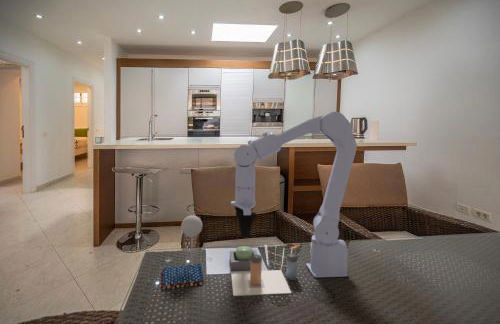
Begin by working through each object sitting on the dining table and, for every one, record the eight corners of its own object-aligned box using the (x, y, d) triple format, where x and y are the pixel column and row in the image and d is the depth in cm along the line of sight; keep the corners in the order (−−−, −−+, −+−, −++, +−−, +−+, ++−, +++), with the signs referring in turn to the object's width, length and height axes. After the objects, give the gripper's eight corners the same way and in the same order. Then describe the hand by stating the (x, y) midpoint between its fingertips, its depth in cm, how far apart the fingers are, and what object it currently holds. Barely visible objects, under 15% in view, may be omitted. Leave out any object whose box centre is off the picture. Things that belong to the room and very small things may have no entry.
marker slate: (295, 274, 81) (296, 253, 80) (298, 279, 78) (298, 257, 77) (284, 275, 81) (285, 253, 80) (287, 280, 78) (288, 258, 77)
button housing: (255, 258, 91) (255, 250, 91) (259, 269, 83) (259, 261, 83) (229, 258, 90) (229, 250, 90) (230, 270, 83) (231, 262, 82)
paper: (280, 270, 83) (280, 270, 83) (291, 293, 71) (291, 292, 71) (231, 272, 82) (231, 271, 82) (233, 296, 70) (233, 295, 70)
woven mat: (162, 272, 82) (161, 265, 82) (200, 268, 85) (200, 262, 84) (160, 292, 72) (160, 284, 72) (204, 287, 75) (204, 279, 74)
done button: (251, 255, 89) (251, 246, 89) (253, 262, 85) (253, 252, 84) (235, 256, 89) (235, 246, 89) (236, 262, 84) (236, 252, 84)
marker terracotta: (260, 280, 77) (260, 254, 76) (262, 286, 74) (262, 259, 73) (249, 281, 76) (249, 254, 76) (250, 286, 74) (251, 259, 73)
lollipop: (197, 273, 81) (197, 219, 79) (177, 270, 82) (177, 218, 80) (205, 263, 87) (205, 213, 85) (186, 261, 88) (186, 212, 87)
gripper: (230, 182, 92) (229, 225, 93) (232, 191, 77) (231, 242, 78) (252, 182, 92) (252, 225, 94) (259, 191, 78) (258, 241, 79)
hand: (244, 233), depth 86 cm, fingers open, 5 cm apart
